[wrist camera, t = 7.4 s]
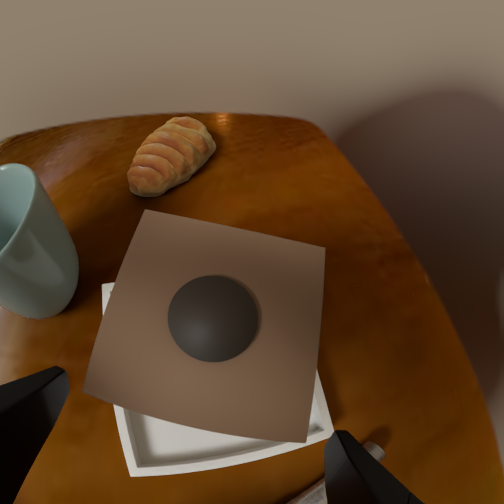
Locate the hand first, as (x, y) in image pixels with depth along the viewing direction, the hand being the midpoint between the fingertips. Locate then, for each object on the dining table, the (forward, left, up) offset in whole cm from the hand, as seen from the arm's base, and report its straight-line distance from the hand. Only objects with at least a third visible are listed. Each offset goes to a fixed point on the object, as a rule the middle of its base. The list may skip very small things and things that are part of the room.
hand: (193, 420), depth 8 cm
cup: (-11, +11, -11) cm, 19 cm away
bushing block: (+1, +3, -10) cm, 11 cm away
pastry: (+1, +22, -11) cm, 25 cm away
